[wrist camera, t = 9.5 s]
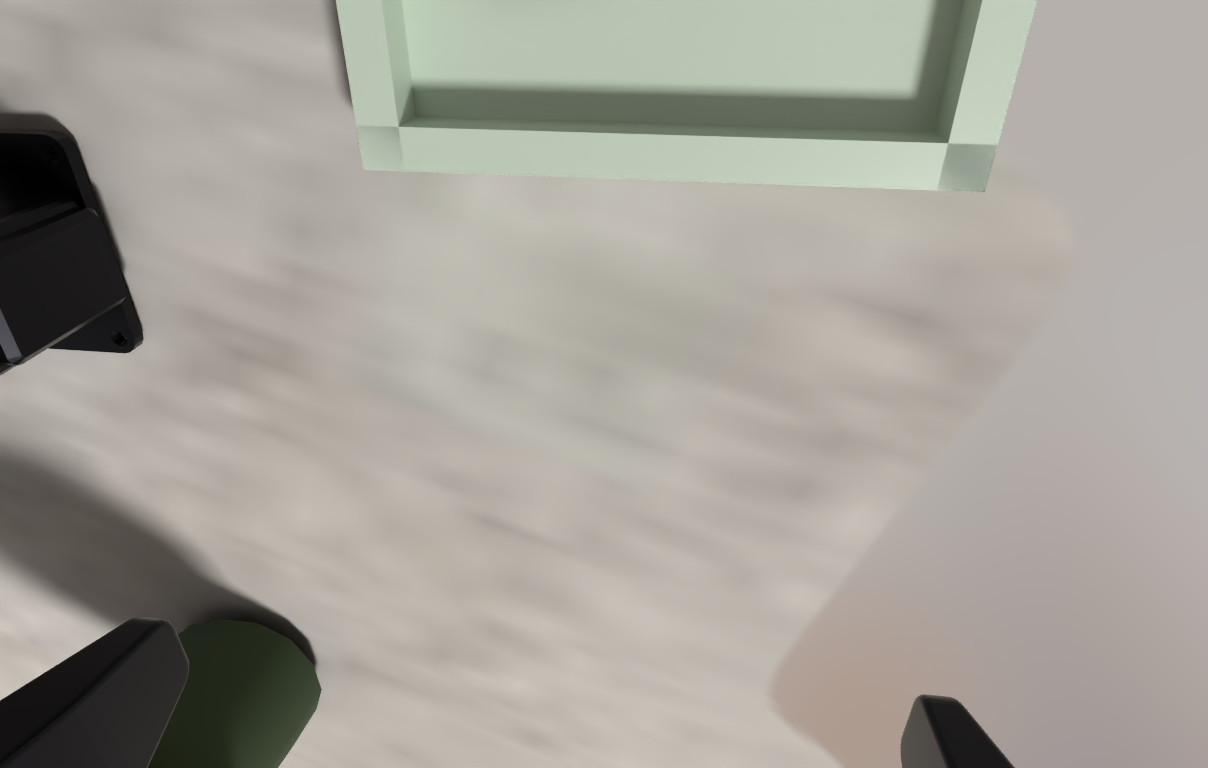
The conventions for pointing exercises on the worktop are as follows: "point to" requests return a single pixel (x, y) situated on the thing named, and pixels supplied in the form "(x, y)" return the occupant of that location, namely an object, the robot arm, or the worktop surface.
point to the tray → (687, 88)
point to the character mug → (238, 699)
